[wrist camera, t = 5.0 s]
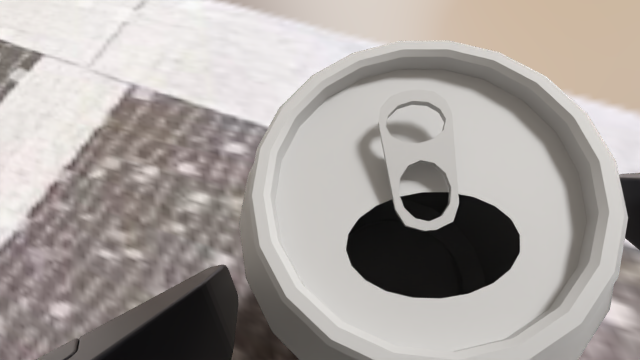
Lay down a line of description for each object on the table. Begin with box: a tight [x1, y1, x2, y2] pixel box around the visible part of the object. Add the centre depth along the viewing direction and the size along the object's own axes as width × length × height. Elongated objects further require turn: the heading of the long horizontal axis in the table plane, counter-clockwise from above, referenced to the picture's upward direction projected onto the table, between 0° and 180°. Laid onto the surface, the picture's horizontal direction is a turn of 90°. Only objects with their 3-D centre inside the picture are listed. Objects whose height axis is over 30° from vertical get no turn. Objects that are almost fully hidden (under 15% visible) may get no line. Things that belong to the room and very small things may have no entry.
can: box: [239, 41, 628, 360], centre depth 12 cm, size 8×8×12 cm
